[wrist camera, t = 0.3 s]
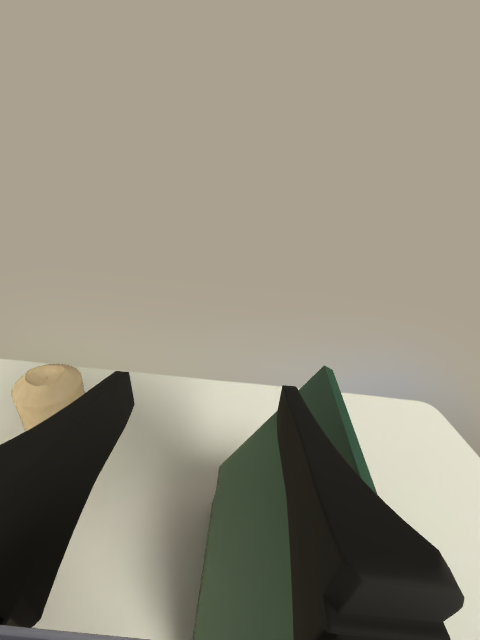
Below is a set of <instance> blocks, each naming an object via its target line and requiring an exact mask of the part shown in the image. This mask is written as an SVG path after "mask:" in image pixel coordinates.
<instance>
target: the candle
mask: <svg viewBox="0 0 480 640" xmlns="http://www.w3.org/2000/svg"><path fill="white" fill-rule="evenodd" d="M83 394H85V393H84V387H83V382H82V377H81V373H80V372H79V371H78V370H77V369H76V368H74V367H72V366H69V365H64V364H49V365H44V366H40V367H36V368H34V369H31V370H29V371H27V373H26V374H25V375H24V376H22V377H21V378H20V379H19V380H18V381H17V382H16V383H15V385H14V386H13V388H12V398H13V401H14V403H15V406H16V408H17V410H18V413H19V415H20V418H21V420H22V423H23V425H24V428H25V430H26V431H27V430H29V429H31V428H33V427H34V426H36V425H38V424H39V423H41V422H43V421H44V420H46V419H48V418H49V417H51V416H52V415H54V414H55V413H57V412H58V411H60V410H61V409H63V408H64V407H66V406H67V405H69V404H70V403H72V402H73V401H75V400H76V399H78V398H79V397H81V396H82V395H83Z"/></svg>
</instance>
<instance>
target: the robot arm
mask: <svg viewBox="0 0 480 640" xmlns="http://www.w3.org/2000/svg"><path fill="white" fill-rule="evenodd" d="M133 407H134V398H133V392H132V387H131V381H130V375H129V372H121V371H115V372H114V373H113V374H111V375H110V376H108V377H107V378H106V379H104V380H103V381H101V382H100V383H99V384H97V385H96V386H95V387H93V388H92V389H90V390H89V391H88V392H86V393H85V394H83V395H82V396H81V397H79V398H78V399H76V400H75V401H73V402H72V403H70V404H69V405H67V406H66V407H64V408H63V409H61V410H60V411H58V412H57V413H55V414H54V415H52V416H51V417H49V418H48V419H46V420H44V421H43V422H41V423H39V424H38V425H36V426H34V427H33V428H31V429H29V430H27V431H26V432H24V433H22V434H20V435H19V436H17V437H15V438H13V439H11V440H9V441H7V442H5V443H3V444H1V445H0V640H149V639H139V638H128V637H118V636H108V635H98V634H87V633H77V632H67V631H56V630H46V629H36V628H31V627H33V626H34V625H35V624H36V623H37V622H38V621H39V620H40V619H41V616H42V613H43V611H44V608H45V605H46V602H47V599H48V597H49V594H50V591H51V588H52V586H53V583H54V580H55V577H56V575H57V572H58V569H59V567H60V564H61V562H62V559H63V556H64V554H65V551H66V549H67V546H68V544H69V541H70V539H71V536H72V534H73V531H74V529H75V527H76V524H77V522H78V519H79V517H80V515H81V512H82V510H83V508H84V505H85V503H86V501H87V499H88V496H89V494H90V492H91V490H92V487H93V485H94V483H95V481H96V479H97V477H98V475H99V473H100V471H101V470H102V468H103V466H104V464H105V462H106V461H107V459H108V457H109V455H110V453H111V452H112V450H113V448H114V446H115V444H116V443H117V441H118V439H119V437H120V435H121V434H122V432H123V430H124V428H125V426H126V424H127V422H128V419H129V417H130V415H131V412H132V409H133ZM277 438H278V445H279V452H280V458H281V465H282V471H283V478H284V484H285V491H286V500H287V513H288V528H289V545H290V564H291V585H292V611H293V640H450V637H449V634H448V632H447V630H446V627H445V625H444V623H443V621H445V620H446V619H448V618H449V617H451V616H452V615H453V614H455V613H456V612H458V611H459V610H460V609H461V608H462V607H463V603H464V596H463V594H462V592H461V590H460V588H459V586H458V584H457V582H456V580H455V578H454V576H453V574H452V572H451V571H450V569H449V567H448V565H447V564H446V562H445V560H444V559H443V557H442V555H441V553H440V552H439V550H438V549H437V548H435V547H434V546H433V545H432V544H431V543H430V542H428V541H427V540H426V539H425V538H424V537H423V536H421V535H420V534H419V533H418V532H417V531H416V530H414V529H413V528H412V527H411V526H410V525H409V524H407V523H406V522H405V521H404V520H403V519H402V518H401V517H400V516H399V515H398V514H396V513H395V512H394V511H393V510H392V509H391V508H390V507H389V506H388V505H387V504H386V503H385V502H384V501H383V500H382V499H381V498H380V497H379V496H378V495H377V494H376V493H375V492H374V491H373V490H372V489H371V488H370V487H369V486H368V485H367V484H366V483H365V482H364V481H363V480H362V479H361V477H360V476H359V475H358V474H357V473H356V472H355V471H354V470H353V468H352V467H351V466H350V465H349V464H348V463H347V461H346V460H345V459H344V458H343V457H342V455H341V454H340V453H339V452H338V450H337V449H336V448H335V446H334V445H333V444H332V442H331V441H330V440H329V438H328V437H327V436H326V434H325V433H324V431H323V430H322V428H321V427H320V425H319V424H318V422H317V421H316V419H315V418H314V416H313V415H312V413H311V411H310V410H309V408H308V406H307V405H306V403H305V401H304V400H303V398H302V396H301V394H300V392H299V390H298V389H297V387H294V386H282V391H281V396H280V401H279V406H278V411H277Z"/></svg>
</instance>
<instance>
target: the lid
mask: <svg viewBox="0 0 480 640" xmlns="http://www.w3.org/2000/svg"><path fill="white" fill-rule="evenodd" d="M299 392H300V394H301V396H302V398H303V400H304V401H305V403H306V405H307V406H308V408H309V410H310V411H311V413H312V415H313V416H314V418H315V419H316V421H317V422H318V424H319V425H320V427H321V428H322V430H323V431H324V433H325V434H326V436H327V437H328V438H329V440H330V441H331V442H332V444H333V445H334V446H335V448H336V449H337V450H338V452H339V453H340V454H341V455H342V457H343V458H344V459H345V460H346V461H347V463H348V464H349V465H350V466H351V467H352V468H353V470H354V471H355V472H356V473H357V474H358V475H359V476H360V477H361V479H362V480H363V481H364V482H365V483H366V484H367V485H368V486H369V487H370V488H371V489H372V490H373V491H374V492H375V493H376V494H377V492H376V489H375V487H374V484H373V481H372V478H371V475H370V473H369V470H368V467H367V464H366V462H365V459H364V456H363V453H362V450H361V448H360V445H359V442H358V439H357V437H356V434H355V431H354V428H353V425H352V423H351V420H350V417H349V414H348V411H347V409H346V406H345V403H344V400H343V398H342V395H341V392H340V389H339V386H338V384H337V381H336V378H335V376H334V373H333V370H332V369H330V368H328V367H326V366H323V367H322V368H321V369H320V370H319V371H318V372H317V373H316V374H315V375H314V376H313V377H312V378H311V379H310V380H309V381H308V382H307V383H306V384H305V385H304V386H303V387H302V388H300V389H299ZM195 640H293V611H292V585H291V564H290V545H289V528H288V513H287V500H286V491H285V484H284V478H283V471H282V465H281V458H280V452H279V445H278V438H277V412H276V413H275V414H274V415H272V416H271V417H270V418H269V419H268V420H267V421H266V422H265V423H264V424H263V425H262V426H261V427H260V428H259V429H258V430H257V431H256V432H255V433H254V434H253V435H252V436H251V437H250V438H249V439H248V440H247V441H245V442H244V443H243V444H242V445H241V446H240V447H239V448H238V449H237V450H236V451H235V452H234V453H233V454H232V455H231V456H230V457H229V458H228V459H227V460H226V461H225V462H224V463H223V464H222V465H221V466H220V467H219V474H218V481H217V488H216V495H215V502H214V509H213V516H212V523H211V531H210V538H209V545H208V552H207V559H206V566H205V573H204V580H203V587H202V595H201V602H200V609H199V616H198V623H197V630H196V637H195Z"/></svg>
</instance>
